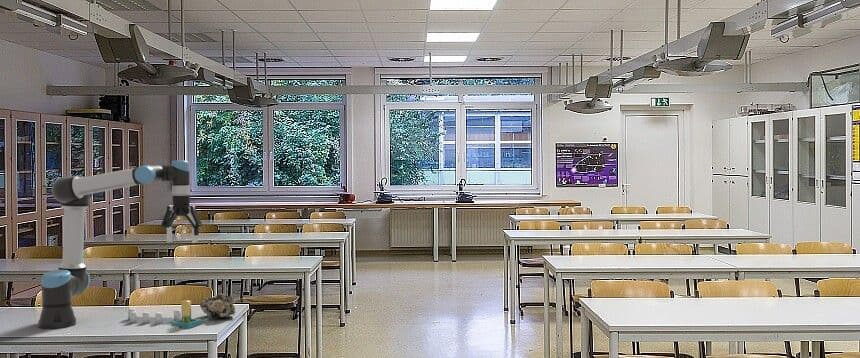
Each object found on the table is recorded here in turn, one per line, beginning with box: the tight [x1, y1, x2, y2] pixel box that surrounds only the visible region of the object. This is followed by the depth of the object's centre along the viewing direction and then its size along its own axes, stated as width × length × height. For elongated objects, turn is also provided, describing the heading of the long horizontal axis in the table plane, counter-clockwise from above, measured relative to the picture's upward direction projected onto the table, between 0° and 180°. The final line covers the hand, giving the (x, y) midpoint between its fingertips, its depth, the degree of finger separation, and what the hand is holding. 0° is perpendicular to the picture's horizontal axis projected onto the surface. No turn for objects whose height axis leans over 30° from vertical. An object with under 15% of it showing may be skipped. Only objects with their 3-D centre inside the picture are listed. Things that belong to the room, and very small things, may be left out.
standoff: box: [180, 299, 192, 323], centre depth 362 cm, size 4×4×10 cm
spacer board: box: [118, 308, 182, 326], centre depth 369 cm, size 25×14×5 cm, turn 79°
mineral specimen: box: [198, 293, 236, 320], centre depth 379 cm, size 16×18×10 cm
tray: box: [171, 318, 203, 329], centre depth 362 cm, size 9×9×2 cm
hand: (182, 242), depth 375 cm, fingers open, 13 cm apart
